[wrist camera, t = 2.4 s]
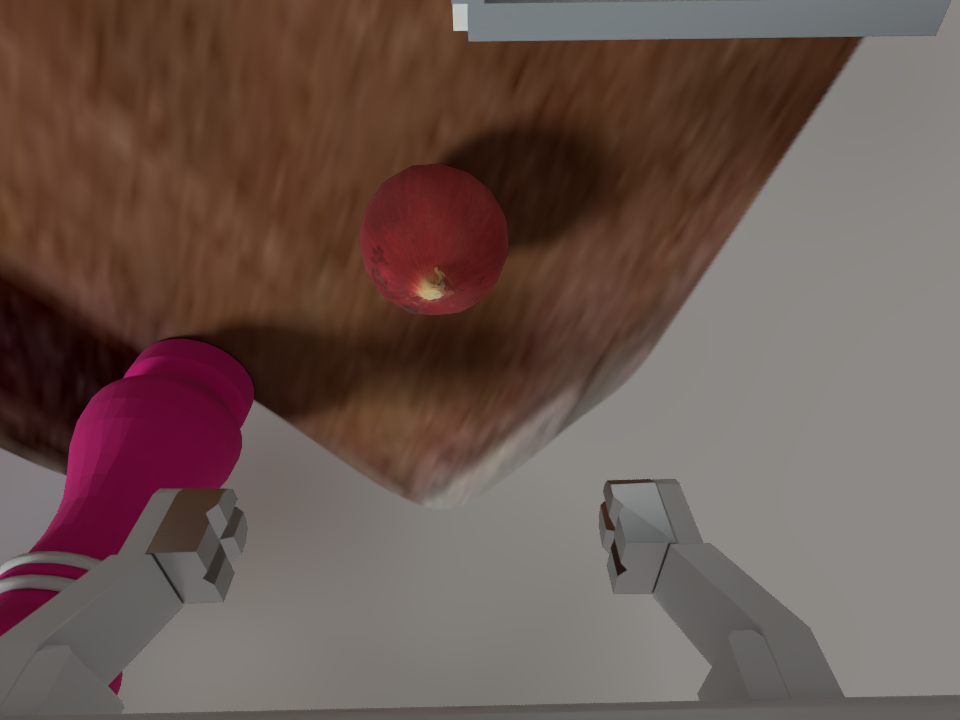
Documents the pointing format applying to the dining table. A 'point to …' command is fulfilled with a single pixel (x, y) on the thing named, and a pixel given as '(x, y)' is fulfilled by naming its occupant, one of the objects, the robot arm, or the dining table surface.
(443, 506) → the dining table surface
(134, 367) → the pepper mill
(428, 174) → the onion
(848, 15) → the stand
